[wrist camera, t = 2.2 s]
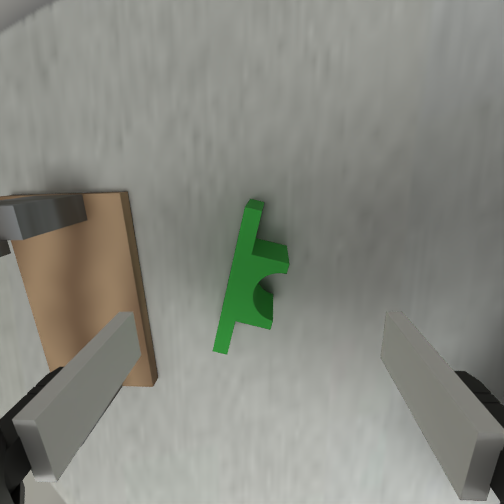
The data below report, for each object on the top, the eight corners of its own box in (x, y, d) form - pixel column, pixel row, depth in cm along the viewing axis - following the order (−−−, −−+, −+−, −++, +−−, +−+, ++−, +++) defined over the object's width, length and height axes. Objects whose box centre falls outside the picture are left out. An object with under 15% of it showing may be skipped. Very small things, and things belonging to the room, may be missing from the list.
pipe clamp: (263, 329, 26) (260, 363, 21) (223, 319, 26) (212, 351, 21) (297, 209, 22) (302, 221, 18) (250, 197, 22) (244, 207, 18)
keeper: (127, 191, 22) (46, 207, 15) (158, 377, 28) (111, 464, 20) (11, 195, 23) (-126, 212, 15) (62, 375, 29) (-20, 456, 21)
